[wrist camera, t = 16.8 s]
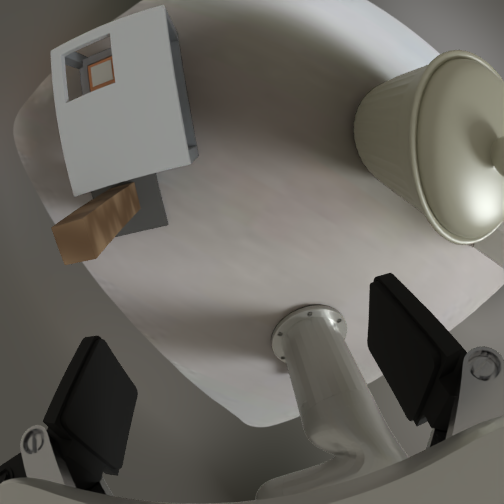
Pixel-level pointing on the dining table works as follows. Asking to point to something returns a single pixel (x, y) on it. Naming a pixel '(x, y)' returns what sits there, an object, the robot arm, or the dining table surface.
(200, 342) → the dining table surface
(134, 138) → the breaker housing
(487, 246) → the milk
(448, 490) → the robot arm
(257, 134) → the dining table surface
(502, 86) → the canister
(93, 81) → the breaker button
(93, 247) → the brown wooden bar
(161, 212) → the pad
